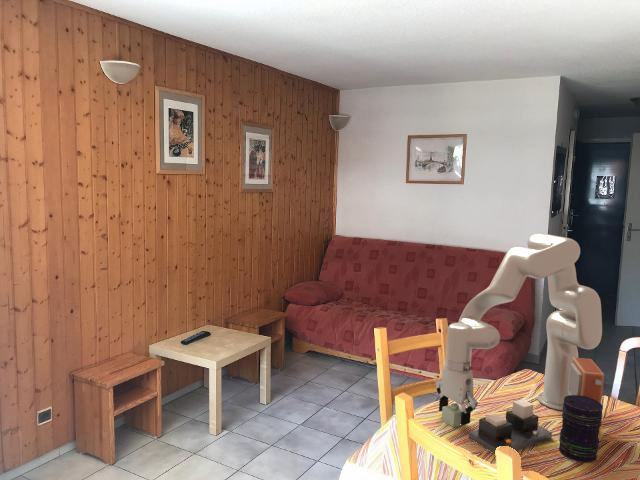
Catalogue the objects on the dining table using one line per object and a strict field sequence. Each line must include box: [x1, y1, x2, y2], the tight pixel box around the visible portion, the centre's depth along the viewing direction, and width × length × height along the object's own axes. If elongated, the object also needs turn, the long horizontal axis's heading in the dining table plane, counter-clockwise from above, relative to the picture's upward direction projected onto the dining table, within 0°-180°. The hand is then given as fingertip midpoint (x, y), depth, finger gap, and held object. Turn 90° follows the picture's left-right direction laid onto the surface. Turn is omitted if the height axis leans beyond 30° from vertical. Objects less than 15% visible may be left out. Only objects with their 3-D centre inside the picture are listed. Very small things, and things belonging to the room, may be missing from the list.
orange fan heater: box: [568, 357, 605, 404], centre depth 158 cm, size 21×7×15 cm
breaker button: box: [511, 399, 534, 419], centre depth 157 cm, size 4×4×5 cm
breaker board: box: [468, 409, 553, 455], centre depth 154 cm, size 22×11×6 cm, turn 119°
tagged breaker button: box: [485, 413, 506, 427], centre depth 152 cm, size 4×4×5 cm
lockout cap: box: [441, 402, 463, 428], centre depth 164 cm, size 5×5×6 cm
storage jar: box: [558, 395, 604, 464], centre depth 147 cm, size 10×10×15 cm
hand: (454, 416), depth 164 cm, fingers open, 9 cm apart
